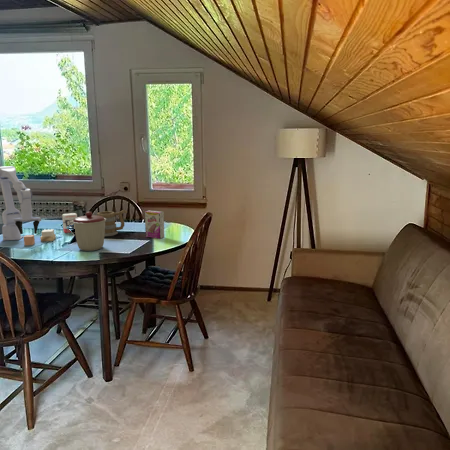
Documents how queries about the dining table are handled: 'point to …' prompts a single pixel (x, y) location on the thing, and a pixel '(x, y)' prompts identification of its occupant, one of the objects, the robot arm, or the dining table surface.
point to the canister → (89, 231)
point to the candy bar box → (154, 224)
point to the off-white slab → (47, 233)
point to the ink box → (68, 221)
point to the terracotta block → (29, 240)
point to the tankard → (112, 222)
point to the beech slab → (48, 238)
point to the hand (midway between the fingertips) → (28, 233)
